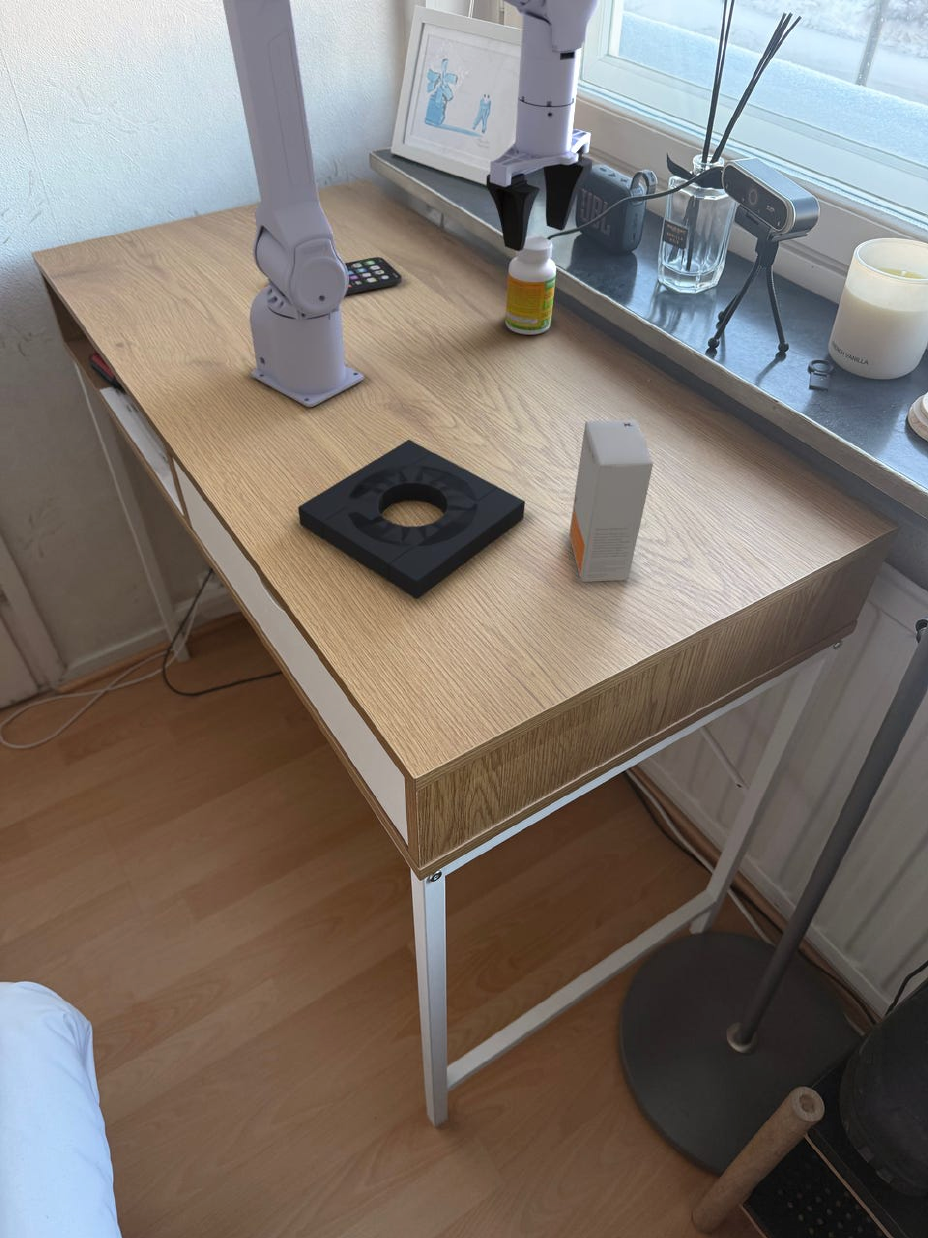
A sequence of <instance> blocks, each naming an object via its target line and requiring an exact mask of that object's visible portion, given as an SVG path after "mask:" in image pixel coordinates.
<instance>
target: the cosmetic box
mask: <svg viewBox="0 0 928 1238" xmlns="http://www.w3.org/2000/svg"><path fill="white" fill-rule="evenodd" d="M647 445H648V444H647V442H646V439H645V437H644V436H643V433H642V431H641V429H640V426H639V424H638V421H637V420H636V419H606V420H605V419H604V420H601V419H600V420H586V421H585V422H584V428H583V436H582V442H581V448H580V449H581V450H580V457H579V463H578V471H577V476H576V477H577V478H576V484H575V492H574V500H573V506H572V513H571V521H570V527H569V533H568V538H569V540H570V544H571V547H572V551H573V555H574V558H575V562H576V563H575V564H576V566H577V567H576V568H577V572H578V576H579V580H580V582H581V583H591V582H593V583H594V582H614V581H628V580H629V578H630V573H631V569H632V565H633V559H634V555H635V550H636V545H637V541H638V536H639V531H640V528H641V523H642V517H643V513H644V510H645V509H644V508H645V504H646V499H647V495H648V491H649V486H650V479H651V475H652V472H653V467H654V462H653V460H652V457H651V454H650V452H649V450H648V446H647Z"/></svg>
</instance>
